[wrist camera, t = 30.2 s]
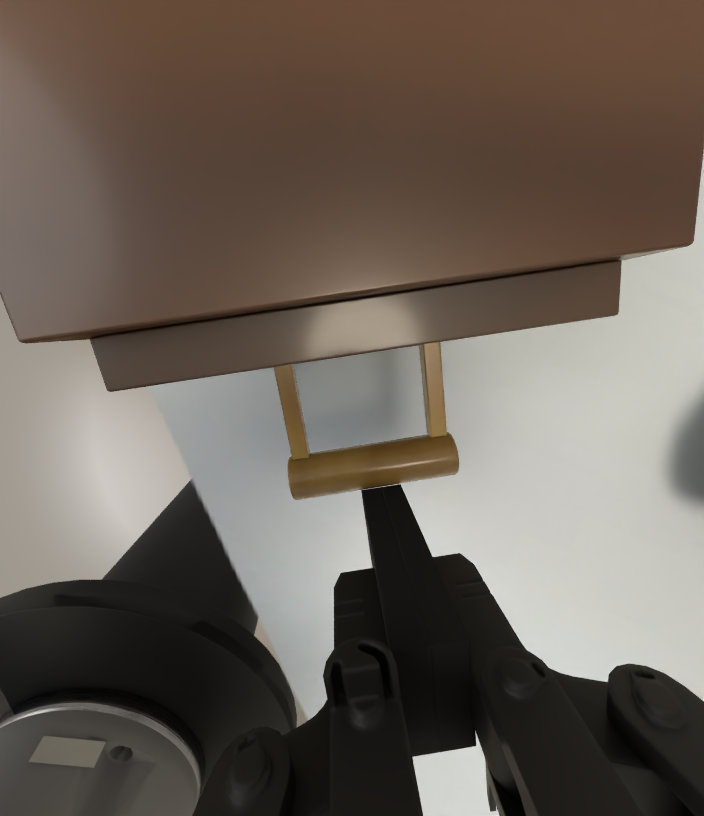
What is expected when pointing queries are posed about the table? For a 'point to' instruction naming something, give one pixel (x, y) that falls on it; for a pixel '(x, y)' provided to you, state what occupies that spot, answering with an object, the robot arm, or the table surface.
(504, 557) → the table surface
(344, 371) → the table surface
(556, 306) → the drawer
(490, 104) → the cabinet
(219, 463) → the table surface
